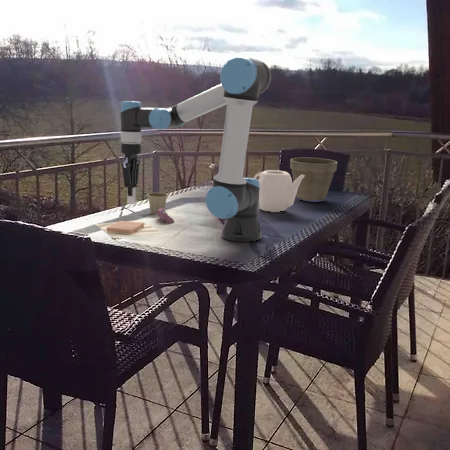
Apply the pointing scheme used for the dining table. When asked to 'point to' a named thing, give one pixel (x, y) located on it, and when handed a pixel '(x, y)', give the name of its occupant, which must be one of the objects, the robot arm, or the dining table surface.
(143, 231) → the board
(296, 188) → the watering can
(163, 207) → the flower pot
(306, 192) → the plant pot
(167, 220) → the video game controller
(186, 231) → the dining table surface
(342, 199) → the dining table surface
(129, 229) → the tile
